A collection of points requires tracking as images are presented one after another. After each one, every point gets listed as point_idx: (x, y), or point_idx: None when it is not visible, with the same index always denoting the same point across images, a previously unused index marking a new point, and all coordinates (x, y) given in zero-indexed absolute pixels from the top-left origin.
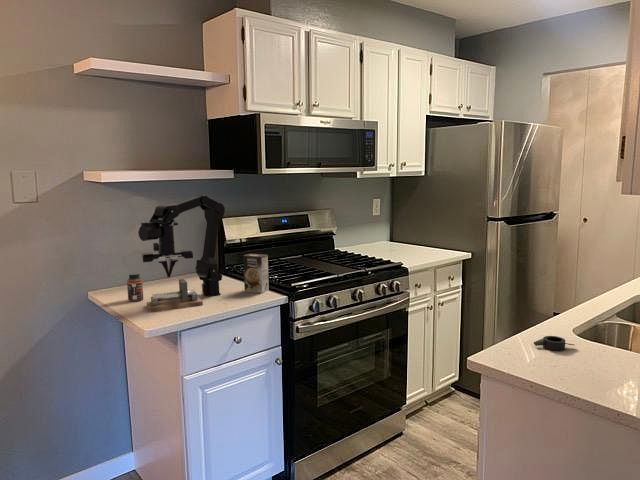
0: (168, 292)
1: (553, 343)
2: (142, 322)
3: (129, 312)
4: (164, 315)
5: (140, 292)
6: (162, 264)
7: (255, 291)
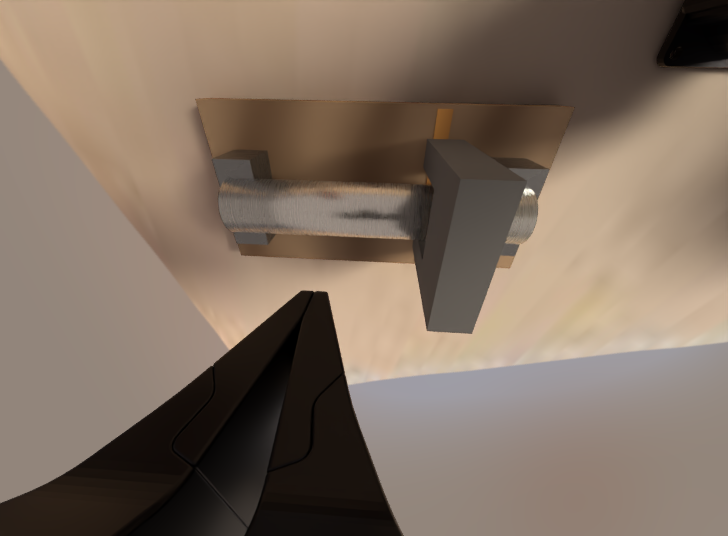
0: (333, 219)
1: None
2: (240, 340)
3: (147, 199)
4: None
5: None
6: (104, 476)
7: None
